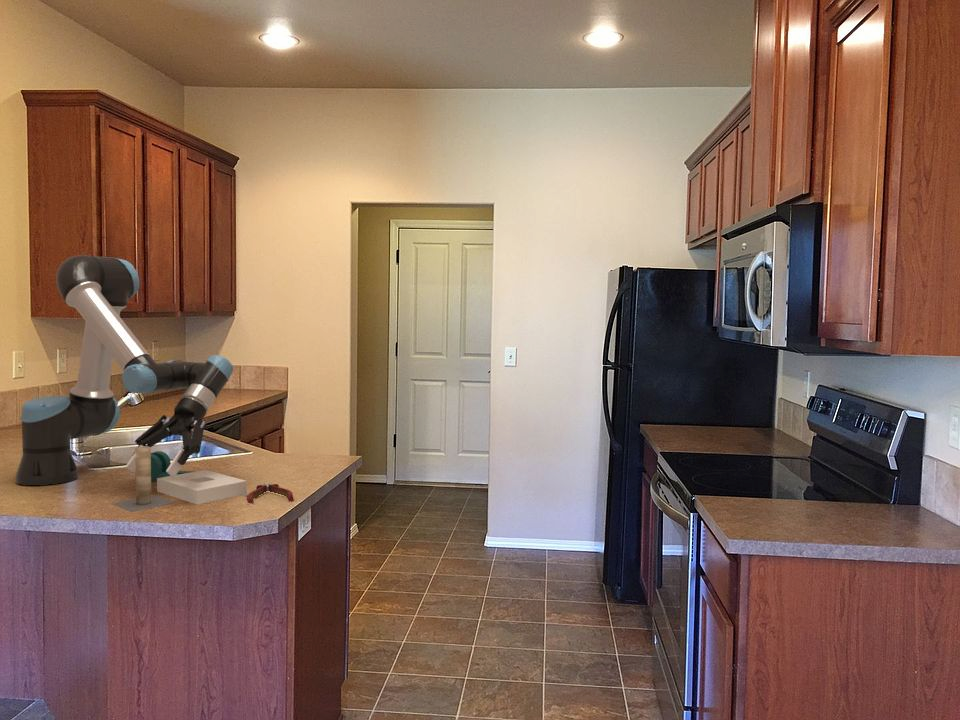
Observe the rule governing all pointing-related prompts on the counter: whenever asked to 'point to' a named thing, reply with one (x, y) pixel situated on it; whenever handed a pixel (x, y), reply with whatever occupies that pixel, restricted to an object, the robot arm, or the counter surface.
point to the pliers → (271, 487)
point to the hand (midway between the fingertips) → (149, 472)
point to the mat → (132, 505)
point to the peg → (143, 475)
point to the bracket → (161, 466)
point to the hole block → (202, 486)
